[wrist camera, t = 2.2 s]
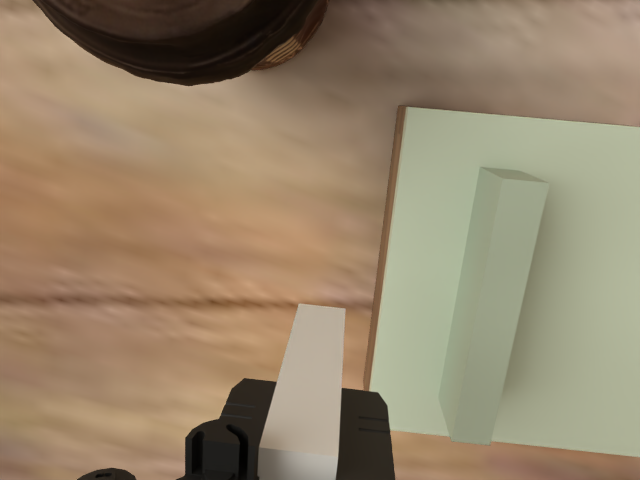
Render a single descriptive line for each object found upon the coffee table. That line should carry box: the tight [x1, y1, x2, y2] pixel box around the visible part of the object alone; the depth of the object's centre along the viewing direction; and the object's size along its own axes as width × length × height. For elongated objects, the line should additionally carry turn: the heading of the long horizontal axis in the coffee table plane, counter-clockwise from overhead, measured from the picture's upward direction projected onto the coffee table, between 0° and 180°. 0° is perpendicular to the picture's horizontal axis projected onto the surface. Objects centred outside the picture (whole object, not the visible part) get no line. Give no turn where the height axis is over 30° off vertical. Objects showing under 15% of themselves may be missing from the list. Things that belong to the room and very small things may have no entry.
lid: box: [369, 107, 640, 457], centre depth 20 cm, size 14×15×4 cm
